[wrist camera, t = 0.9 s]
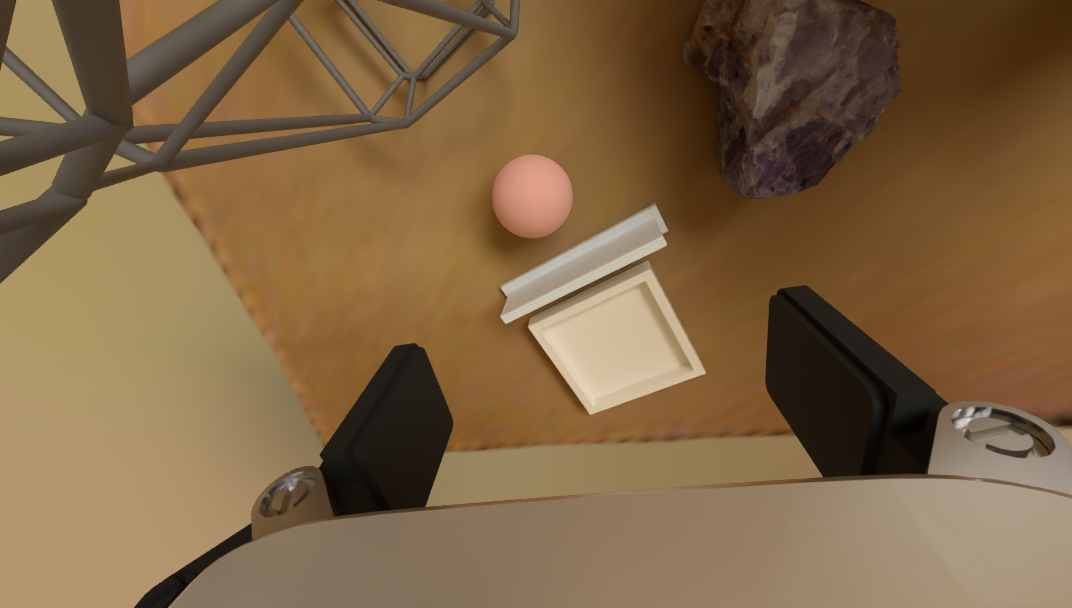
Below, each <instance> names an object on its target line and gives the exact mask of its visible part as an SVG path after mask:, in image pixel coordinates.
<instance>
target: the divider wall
mask: <svg viewBox="0 0 1072 608" xmlns="http://www.w3.org/2000/svg"><path fill="white" fill-rule="evenodd" d="M667 231H668V229H667V227H666V225H665V223H664V221H663V219H662V217H661V215H660V213H659V211H658V209H657V207H656V205H655V203H654V204H653V205H651V206H649V207H647V208H645V209H643V210H641V211H639V212H637V213H636V214H634V215H632V216H630V217H628V218H626V219H624V220H622V221H621V222H619V223H617V224H615V225H613V226H611V227H609V228H607V229H605V230H604V231H602V232H600V233H598V234H596V235H594V236H592V237H590V238H589V239H587V240H585V241H583V242H581V243H579V244H577V245H575V246H573V247H572V248H570V249H568V250H566V251H564V252H562V253H560V254H558V255H557V256H555V257H553V258H551V259H549V260H547V261H545V262H543V263H541V264H540V265H538V266H536V267H534V268H532V269H530V270H528V271H526V272H525V273H523V274H521V275H519V276H517V277H515V278H513V279H511V280H509V281H508V282H506V283H504V284H502V285H501V287H500V288H501V289H502V291H503V292H504V293H505V295H506V296H507V300H506V303H505V306H504V308H503V311H502V313H501V316H500V317H501V318H502V320H503V321H504V322H505V324H507V323H509V322H511V321H513V320H515V319H517V318H519V317H521V316H523V315H525V314H527V313H529V312H531V311H533V310H535V309H538V308H540V307H542V306H544V305H546V304H548V303H550V302H552V301H554V300H556V299H558V298H560V297H562V296H564V295H566V294H568V293H570V292H572V291H574V290H576V289H579V288H581V287H583V286H585V285H587V284H589V283H591V282H593V281H595V280H597V279H599V278H601V277H603V276H605V275H607V274H609V273H611V272H613V271H615V270H618V269H620V268H622V267H624V266H626V265H628V264H630V263H632V262H634V261H636V260H638V259H640V258H642V257H644V256H646V255H648V254H650V253H652V252H654V251H657V250H659V249H661V248H663V247H665V246H667V243H666V241H665V239H664V237H663V235H662V234H663V233H665V232H667Z"/></svg>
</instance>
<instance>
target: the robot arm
mask: <svg viewBox="0 0 1072 608" xmlns="http://www.w3.org/2000/svg"><path fill="white" fill-rule="evenodd" d="M765 383H766V388H767V391H768V393H769V395H770V397H771V398H772V400H773V401H774V403H775V404H776V406H777V407H778V409H779V410H780V412H781V413H782V415H783V416H784V418H785V419H786V421H787V423H788V424H789V426H790V427H791V429H792V430H793V432H794V433H795V435H796V436H797V438H798V439H799V441H800V442H801V444H802V445H803V447H804V448H805V450H806V451H807V453H808V454H809V456H810V457H811V459H812V460H813V462H814V464H815V465H816V467H817V468H818V470H819V471H820V473H821V474H822V476H823V477H822V478H807V479H790V480H773V481H760V482H745V483H731V484H717V485H704V486H689V487H675V488H660V489H647V490H634V491H620V492H607V493H595V494H582V495H568V496H556V497H543V498H529V499H517V500H505V501H493V502H481V503H468V504H457V505H444V506H432V507H425V506H426V503H427V500H428V498H429V495H430V492H431V489H432V486H433V483H434V480H435V477H436V475H437V472H438V469H439V466H440V463H441V460H442V457H443V455H444V452H445V449H446V446H447V443H448V440H449V437H450V434H451V432H452V428H453V419H452V415H451V413H450V410H449V408H448V406H447V403H446V401H445V398H444V396H443V393H442V391H441V388H440V386H439V383H438V381H437V378H436V376H435V373H434V371H433V369H432V366H431V364H430V361H429V359H428V356H427V354H426V351H425V350H424V348H422V347H419V346H418V345H417V344H415V343H412V344H406V345H399V346H395V347H394V348H393V349H392V350H391V352H390V353H389V355H388V356H387V358H386V359H385V361H384V362H383V364H382V365H381V366H380V368H379V369H378V371H377V372H376V374H375V375H374V377H373V378H372V379H371V381H370V382H369V384H368V385H367V387H366V388H365V390H364V391H363V393H362V394H361V395H360V397H359V398H358V400H357V401H356V403H355V404H354V406H353V407H352V409H351V410H350V411H349V413H348V414H347V416H346V417H345V419H344V420H343V422H342V423H341V424H340V426H339V427H338V429H337V430H336V432H335V433H334V435H333V436H332V438H331V439H330V440H329V442H328V443H327V445H326V446H325V448H324V449H323V451H322V452H321V454H320V456H321V458H322V459H323V462H322V464H321V466H320V467H319V468H317V467H314V466H304V467H301V468H297V469H294V470H292V471H290V472H288V473H286V474H284V475H282V476H281V477H279V478H278V479H276V480H275V481H274V482H273V483H271V484H270V485H269V486H268V487H267V488H266V489H265V490H264V491H263V492H262V493H261V495H260V496H259V497H258V498H257V500H256V502H255V504H254V505H253V508H252V514H251V522H252V523H251V524H249V525H248V526H246V527H245V528H243V529H242V530H240V531H239V532H237V533H236V534H234V535H232V536H231V537H229V538H228V539H226V540H225V541H223V542H222V543H220V544H219V545H217V546H216V547H214V548H213V549H211V550H209V551H208V552H206V553H205V554H203V555H202V556H200V557H199V558H197V559H196V560H194V561H192V562H191V563H189V564H188V565H186V566H185V567H183V568H182V569H180V570H179V571H177V572H176V573H174V574H172V575H171V576H169V577H168V578H166V579H165V580H164V581H163V582H161V583H159V584H158V585H156V586H155V587H153V588H152V589H151V590H150V591H149V592H148V593H146V594H145V595H144V596H143V597H142V599H141V600H140V601H139V602H138V604H137V605H136V606H135V607H134V608H1072V449H1071V447H1070V445H1069V443H1068V441H1067V439H1066V438H1065V437H1064V436H1063V435H1062V434H1061V433H1060V432H1059V431H1058V430H1057V429H1056V428H1054V427H1053V426H1051V425H1049V424H1048V423H1046V422H1045V421H1043V420H1041V419H1040V418H1037V417H1035V416H1033V415H1031V414H1028V413H1026V412H1024V411H1022V410H1018V409H1015V408H1012V407H1008V406H1005V405H1002V404H996V403H991V402H985V401H960V402H954V403H951V404H948V403H947V402H946V401H945V400H943V399H942V398H941V397H940V396H939V395H937V394H936V393H935V392H936V391H935V390H934V389H933V388H931V387H930V386H929V385H928V384H927V383H925V382H924V381H923V380H922V379H920V378H919V377H918V376H917V375H916V374H914V373H913V372H912V371H911V370H909V369H908V368H907V367H906V366H905V365H903V364H902V363H901V362H900V361H898V360H897V359H896V358H895V357H894V356H892V355H891V354H890V353H889V352H887V351H886V350H885V349H884V348H883V347H881V346H880V345H879V344H878V343H876V342H875V341H874V340H873V339H872V338H870V337H869V336H868V335H867V334H865V333H864V332H863V331H862V330H861V329H859V328H858V327H857V326H856V325H854V324H853V323H852V322H851V321H850V320H848V319H847V318H846V317H845V316H843V315H842V314H841V313H840V312H839V311H837V310H836V309H835V308H834V307H832V306H831V305H830V304H829V303H828V302H826V301H825V300H824V299H823V298H821V297H820V296H819V295H818V294H817V293H815V292H814V291H813V290H812V289H810V288H809V287H808V286H806V285H803V286H796V287H790V288H783V289H779V290H778V292H777V295H774V296H771V298H770V302H769V320H768V339H767V358H766V377H765Z"/></svg>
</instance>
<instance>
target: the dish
mask: <svg viewBox="0 0 1072 608" xmlns="http://www.w3.org/2000/svg"><path fill="white" fill-rule="evenodd" d="M528 328H529V329H530V331H531V332H532V334H533V335H534V336H535V338H536V339H537V341H538V342H539V343H540V345H541V346H542V348H543V349H544V350H545V352H546V353H547V355H548V356H549V357H550V359H551V360H552V362H553V363H554V364H555V366H556V367H557V369H558V370H559V371H560V373H561V374H562V376H563V377H564V379H565V380H566V381H567V383H568V384H569V386H570V387H571V388H572V390H573V391H574V393H575V394H576V395H577V397H578V398H579V400H580V401H581V402H582V404H583V405H584V407H585V408H586V409H587V411H588V412H589V414H590V415H591V414H594V413H597V412H600V411H602V410H605V409H608V408H611V407H614V406H616V405H619V404H622V403H625V402H627V401H630V400H633V399H636V398H639V397H641V396H644V395H647V394H650V393H653V392H655V391H658V390H661V389H664V388H666V387H669V386H672V385H675V384H678V383H680V382H683V381H686V380H689V379H692V378H694V377H697V376H700V375H703V374H705V373H706V372H705V369H704V367H703V364H702V362H701V360H700V358H699V356H698V354H697V352H696V350H695V348H694V347H693V345H692V343H691V341H690V339H689V337H688V335H687V333H686V331H685V330H684V328H683V326H682V324H681V322H680V320H679V318H678V316H677V314H676V313H675V311H674V309H673V307H672V305H671V303H670V301H669V299H668V297H667V295H666V294H665V292H664V290H663V288H662V286H661V284H660V282H659V280H658V278H657V277H656V275H655V273H654V271H653V269H652V267H651V265H650V263H649V261H648V260H647V261H645V262H643V263H641V264H639V265H637V266H635V267H633V268H631V269H629V270H627V271H625V272H623V273H620V274H618V275H616V276H614V277H612V278H610V279H608V280H606V281H604V282H602V283H600V284H598V285H596V286H594V287H591V288H589V289H587V290H585V291H583V292H581V293H579V294H577V295H575V296H573V297H571V298H569V299H567V300H565V301H562V302H560V303H558V304H556V305H554V306H552V307H550V308H548V309H546V310H544V311H542V312H540V313H538V314H535V315H533V316H531V317H530V320H529V324H528Z"/></svg>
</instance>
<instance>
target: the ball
mask: <svg viewBox="0 0 1072 608" xmlns="http://www.w3.org/2000/svg"><path fill="white" fill-rule="evenodd" d="M572 199H573V194H572V187H571V183H570V180H569V178H568V176H567V174H566V173H565V171H564V170H563V169H562V168H561V167H560V166H559V165H558V164H557V163H556V162H554V161H553V160H551V159H549V158H547V157H544V156H540V155H524V156H520V157H517V158H515V159H513V160H511V161H510V162H508V163H507V164H506V165H505V166H504V167H503V168H502V169H501V170H500V172H499V173H498V175H497V177H496V178H495V181H494V184H493V188H492V205H493V209H494V212H495V214H496V216H497V218H498V219H499V221H500V222H501V224H502V225H503V226H504V227H505V228H506V229H507V230H509V231H510V232H512V233H513V234H515V235H518V236H521V237H525V238H540V237H544V236H547V235H549V234H551V233H553V232H554V231H556V230H557V229H558V228H559V227H560V226H561V225H562V224H563V223H564V222H565V220H566V219H567V217H568V215H569V213H570V210H571V206H572Z"/></svg>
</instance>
